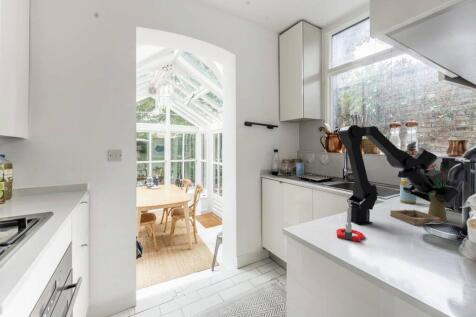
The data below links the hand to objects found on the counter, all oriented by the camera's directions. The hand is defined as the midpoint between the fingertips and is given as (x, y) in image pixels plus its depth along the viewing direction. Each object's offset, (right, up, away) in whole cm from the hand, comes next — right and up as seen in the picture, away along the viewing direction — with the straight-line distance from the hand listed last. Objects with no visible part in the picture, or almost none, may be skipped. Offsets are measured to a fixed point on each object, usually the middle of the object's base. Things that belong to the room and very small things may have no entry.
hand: (440, 203), depth 87 cm
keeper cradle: (-11, -7, -1) cm, 13 cm away
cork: (-1, -7, 0) cm, 7 cm away
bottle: (+9, -6, +27) cm, 29 cm away
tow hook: (-46, -8, -16) cm, 50 cm away
